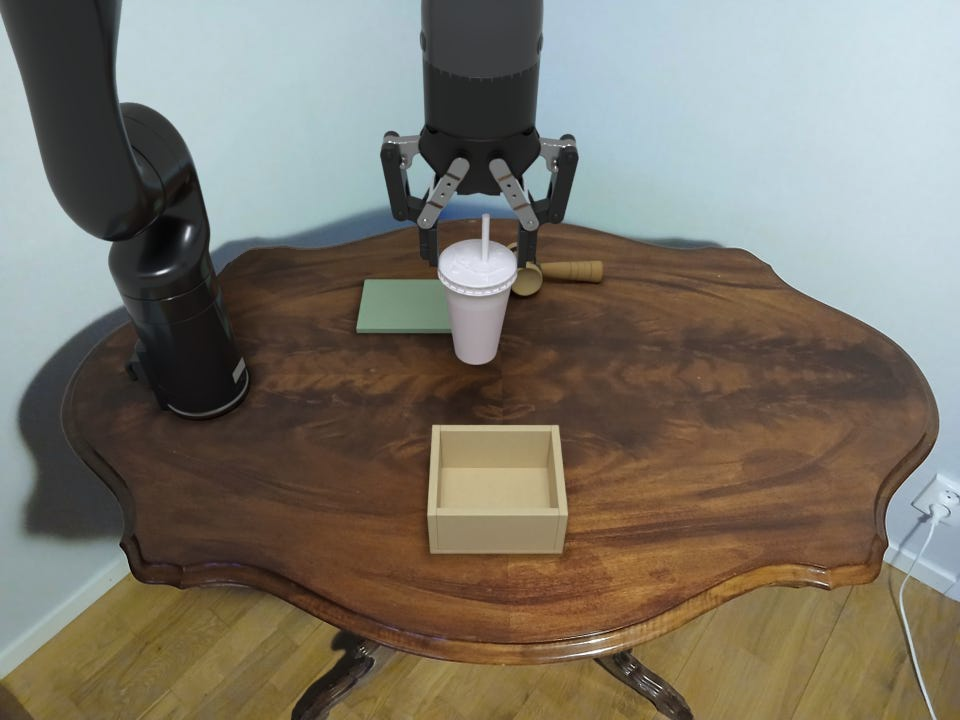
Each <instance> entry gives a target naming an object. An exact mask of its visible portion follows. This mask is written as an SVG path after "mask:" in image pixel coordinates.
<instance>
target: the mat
mask: <svg viewBox="0 0 960 720" xmlns="http://www.w3.org/2000/svg"><path fill="white" fill-rule="evenodd" d="M356 334H452V330H451V325H450V319H449V313H448V307H447V302H446V296H445V291H444V284H443V283H442V282H441V280H440V279H390V278H389V279H387V278H385V279H381V278H379V279H375V278H374V279H372V278H371V279H370V278H369V279H365V278H364V283H363V288H362V294H361V299H360V305H359V311H358V316H357V321H356Z"/></svg>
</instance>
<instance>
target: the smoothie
mask: <svg viewBox="0 0 960 720" xmlns="http://www.w3.org/2000/svg"><path fill="white" fill-rule="evenodd" d="M481 217H482V218H481V238H472V239H464V240H461V241H457V242H454V243H453V244H450V245H449V246H448V247H446V248H445V249H443V250H442V252H441V253H440V254H439V263H438V267H437V276H438V280H441V282H442V283H443V284H444V291H445V296H446V302H447V307H448V313H449V319H450V325H451V330H452V333H451V336H452V341H453V347H454V348H453V349H454V353H455V356H456V357H457V358H458V359H459V360H460V361H462V362H463V363H466V364H468V365H474V366H475V365H477V366H478V365H485V364H487V363H489V362H491V361H492V360H494V358H495V357H496V355H497V352H498V349H499V343H500V338H501V334H502V329H503V325H504V320H505V315H506V310H507V306H508V302H509V297H510V293H511V290H512V289H511V285H512V284H513V283H514V281H515V279H516V277H517V259H516V257H515V255H514V254H513V252H512V251H511V250H510V249H508V248H507V246H505V245H504V244H501V243H499V242H497V241H493V240H490V223H491V221H490V220H491V219H490V218H491V216H490V214H489V213H483V214H482V215H481Z"/></svg>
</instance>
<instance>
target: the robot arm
mask: <svg viewBox="0 0 960 720" xmlns="http://www.w3.org/2000/svg"><path fill="white" fill-rule="evenodd" d="M544 6H545V5H544V0H420V29H421V30H420V32H419V44H420V49H421V58H422V62H421V63H422V85H423V86H422V87H423V90H422V91H423V112H424V123H423V127H422V128H421V130H420V132H419V134H415V135H413V134H412V135H401V136H400V134H399V133H398V132H397V131H395V130H388V131H386V132H385V133H384V135H383V137H382V138H383V139H382V141H381V147H380V152H379V157H380V162H381V163H380V164H381V166H382V172H383V176H384V177H383V178H384V181H385V187H386V191H387V195H388V196H387V197H388V200H389V205H390V210H391V215H392V218H393V219H394V220H395V221H398V222H401V223H402V222H405V221H410V222H412V223H414V224H415V225H416V226H417V227H418V238H419V239H418V240H419V255H420V257H421V259H422V261H428V267H429V268H438V263H439V257H440V229H439V228H440V227H439V226H440V224H439V216H440V214H441V212H442V210H445V208H446V207H447V205H448V204H449V201H450V200H451V198H452V197H453V196H454V193H455V192H456V195H457V196H471V195H476V194H482V195H485V196H491V197H501V194H502V193H503V195H504V197H505V199H506V202H507V203H508V205H509V206H510V209H511V210H512V211H514V212H515V214H516V216H517V219H518V220H517V236H516V237H517V239H516V242H517V252H516V258H517V268H526V262H533V260H534V258H535V257H537V247H538V232H539V229H540V227H541V226H543V225H545V224H548V223H550V224H552V225H559V224H561V223H562V222H563V221H564V220H565V215H566V211H567V208H568V203H569V200H570V196H571V192H572V188H573V184H574V179H575V176H576V171H577V167H578V163H579V159H580V158H579V151H578V145H577V139H576V137H575V136H574V135H573V134H572V133H565V134H563V135H561V136H560V137H559V139H556V138H549V137H541V135H540V133H539V131H538V129H537V127H536V121H537V120H536V119H537V110H538V109H537V108H538V96H539V95H538V94H539V81H540V68H541V56H542V55H541V54H542V50H543V47H544V33H543V29H544V28H543V27H544V26H543V25H544V13H545V12H544V11H545V9H544V8H545V7H544ZM122 11H123V0H0V16H1V20H2V23H3V26H4V28H5V32H6V35H7V38H8V41H9V44H10V46H11V51H12V53H13V55H14V58H15V59H14V60H15V62H16V64H17V68H18V70H19V71H18V72H19V74H20V77H21V82H22V85H23V89H24V93H25V96H26V100H27V104H28V108H29V113H30V117H31V121H32V125H33V129H34V133H35V138H36V142H37V146H38V151H39V155H40V159H41V163H42V166H43V170H44V174H45V177H46V180H47V182H48V185H49V188H50V190H51V192H52V194H53V196H54V197H55V199H56V201H57V203H58V204H59V206H60V208H61V209H62V210H63V212H64V213H65V214H66V215H67V217H68V218H69V219H71V221H72V222H73V223H74V224H75V225H76V226H77V227H79V229H81V230H83V232H85V233H87V234H89V235H90V236H92V237H94V238H96V239H98V240H101V241H105V242H108V243H109V242H110V243H111V245H110V249H109V252H108V256H107V265H108V269H109V272H110V276H111V277H112V280H113V282H114V284H115V287H116V289H117V291H118V294H119V296H120V298H121V300H122V302H123V305H124V308H125V309H126V312H127V314H128V316H129V318H130V321H131V323H132V325H133V327H134V330H135V332H136V334H137V337H138V339H137V341H136V343H135V345H134V352H133V354H132V356H131V357H130V358H128V359H127V360H126V361H125V363H124V370H125V372H126V373H127V375H128V376H129V378H130V379H131V380H137V379H138V381H139V382H148V383H149V385H150V388H151V391H152V392H153V394H154V396H155V398H156V401H157V403H158V405H159V407H160V410H163V411H165V410H166V411H167V410H168V411H170V412H172V414H174V415H175V416H177V417H179V418H182V419H184V420H190V421H204V420H211V419H215V418H217V417H220V416H223V415H225V414H227V413H229V412H231V411H232V410H234V409H235V408H236V407H238V406H239V405H240V404H241V403H242V402H243V401H244V399H245V398H246V396H247V394H248V392H249V390H250V386H251V382H250V376H249V373H248V370H247V368H246V364H245V360H244V358H243V355H242V353H241V350H240V346H239V343H238V340H237V337H236V334H235V331H234V328H233V324H232V321H231V318H230V315H229V312H228V308H227V306H226V302H225V299H224V296H223V292H222V289H221V287H220V282H219V280H218V277H217V273H216V270H215V268H214V264H213V260H212V256H211V253H210V243H211V224H210V220H209V219H210V218H209V215H208V211H207V208H206V203H205V199H204V194H203V189H202V186H201V183H200V179H199V175H198V171H197V168H196V164H195V161H194V158H193V156H192V153H191V151H190V148H189V146H188V144H187V142H186V141H185V139H184V137H183V136H182V134H181V133H180V131H179V130H178V129H177V128H176V127H175V125H174V124H173V123H172V122H171V121H170V120H169V119H168V118H167V117H165V115H164V114H162V113H160V111H158V110H156V109H154V108H152V107H150V106H148V105H145V104H143V103H139V102H133V101H132V102H131V101H124V102H120V99H119V93H118V83H117V57H118V44H119V37H120V27H121V20H122V19H121V18H122ZM416 155H420V157H422V158H423V160H424V161H425V162H426V163H427V165H428V166H429V167H430V168H431V170H432V171H433V174H432V176H431V178H430V181H429V183H428V186H427V187H426V189H425V191H424V193H423V195H422V197H421V198H419V197H417V196H414V195H412V194H411V188H410V182H409V177H408V172H407V170H409V169H410V168H411V167H412V165H413V160H414V157H415V156H416ZM539 157H542V158H544V160H545V166H546V167H545V168H546V169H547V171H549V172H550V173H551V174H550V179H549V183H548V187H547V192H546V195H545V198H542V199H538V200H536V199H535V197H534V195H533V193H532V191H531V189H530V187H529V185H528V180H527V179H526V176H525V173H526V172H527V171H528V169H529V168H530V167H531V166H532V165H533V164H534V163H535V162H536V160H537V159H538V158H539Z"/></svg>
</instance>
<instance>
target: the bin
mask: <svg viewBox="0 0 960 720" xmlns="http://www.w3.org/2000/svg"><path fill="white" fill-rule="evenodd" d="M560 434H561V433H560V425H559V424H432V426H431V441H430V442H431V443H430V461H429V478H428V479H429V480H428V494H427V495H428V496H427V510H426V511H427V513H426V517H427V530H428V543H429V552H430V553H429V554H430V555H431V554H432V555H434V554H435V555H436V554H440V555H441V554H444V555H445V554H449V555H451V554H453V555H455V554H460V555H461V554H462V555H463V554H464V555H465V554H467V555H468V554H469V555H471V554H474V555H475V554H476V555H477V554H478V555H479V554H482V555H483V554H485V555H486V554H488V555H489V554H490V555H491V554H492V555H493V554H494V555H495V554H500V555H501V554H504V555H505V554H509V555H510V554H512V555H513V554H515V555H519V554H523V555H524V554H525V555H527V554H528V555H529V554H530V555H531V554H533V555H534V554H537V555H539V554H541V555H542V554H544V555H545V554H547V555H548V554H550V555H552V554H554V555H555V554H557V555H562V554H563V551H564V545H565V538H566V531H567V525H568V519H569V509H568V500H567V499H568V498H567V489H566V480H565V473H564V462H563V452H562V442H561V435H560Z"/></svg>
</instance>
